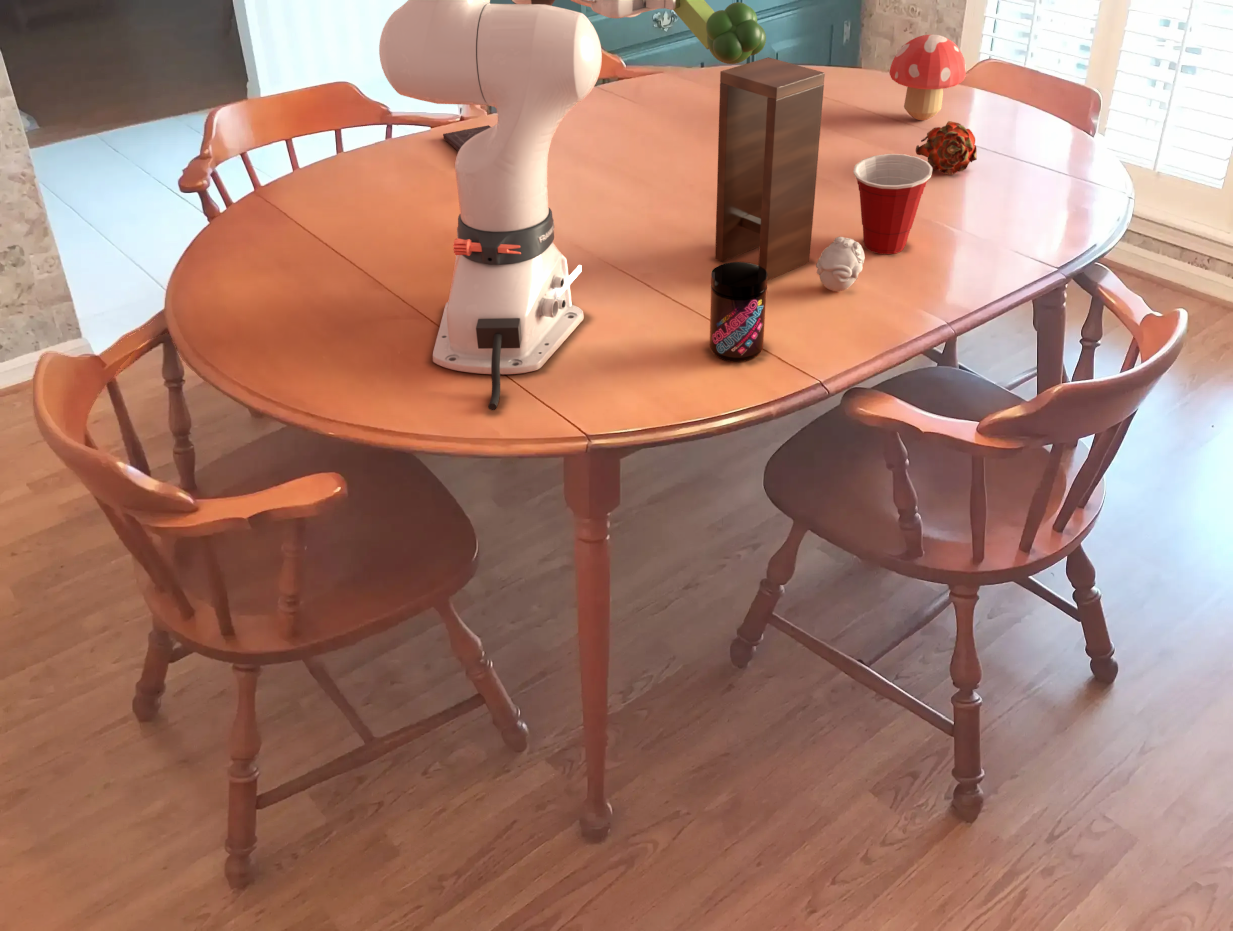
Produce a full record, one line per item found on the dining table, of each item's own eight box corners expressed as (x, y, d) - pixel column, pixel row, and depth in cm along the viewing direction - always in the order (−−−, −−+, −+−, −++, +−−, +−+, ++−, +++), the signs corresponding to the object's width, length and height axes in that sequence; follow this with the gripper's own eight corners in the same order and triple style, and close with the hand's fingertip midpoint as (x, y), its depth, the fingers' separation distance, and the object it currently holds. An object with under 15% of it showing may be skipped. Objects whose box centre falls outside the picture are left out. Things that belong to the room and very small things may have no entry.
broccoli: (761, 70, 160) (786, 23, 152) (718, 84, 155) (741, 35, 148) (692, -9, 164) (713, -59, 157) (648, 2, 159) (667, -49, 152)
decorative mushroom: (945, 136, 196) (958, 49, 187) (873, 125, 201) (882, 40, 193) (967, 114, 205) (981, 31, 196) (898, 104, 210) (908, 22, 202)
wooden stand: (809, 262, 156) (825, 72, 140) (765, 281, 151) (776, 88, 135) (758, 241, 162) (768, 57, 146) (714, 259, 157) (720, 71, 142)
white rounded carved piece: (871, 287, 149) (877, 239, 145) (840, 304, 145) (845, 256, 141) (834, 273, 152) (839, 226, 148) (803, 290, 149) (807, 242, 144)
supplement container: (698, 354, 136) (699, 277, 129) (727, 332, 140) (729, 257, 134) (745, 369, 132) (749, 292, 126) (773, 346, 137) (778, 270, 130)
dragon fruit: (957, 194, 178) (924, 178, 189) (999, 158, 177) (964, 144, 187) (931, 154, 174) (899, 140, 185) (974, 117, 173) (939, 105, 183)
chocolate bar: (488, 125, 204) (526, 154, 191) (489, 130, 204) (527, 160, 191) (443, 134, 201) (478, 164, 188) (443, 139, 201) (479, 169, 188)
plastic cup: (829, 246, 160) (837, 166, 153) (877, 225, 165) (886, 147, 158) (889, 270, 153) (899, 187, 146) (936, 247, 158) (949, 167, 151)
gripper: (572, -26, 161) (633, -11, 152) (674, -48, 171) (737, -34, 162) (574, 19, 164) (634, 36, 156) (674, -5, 175) (736, 10, 166)
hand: (688, 0), depth 159 cm, fingers closed on broccoli, 3 cm apart
